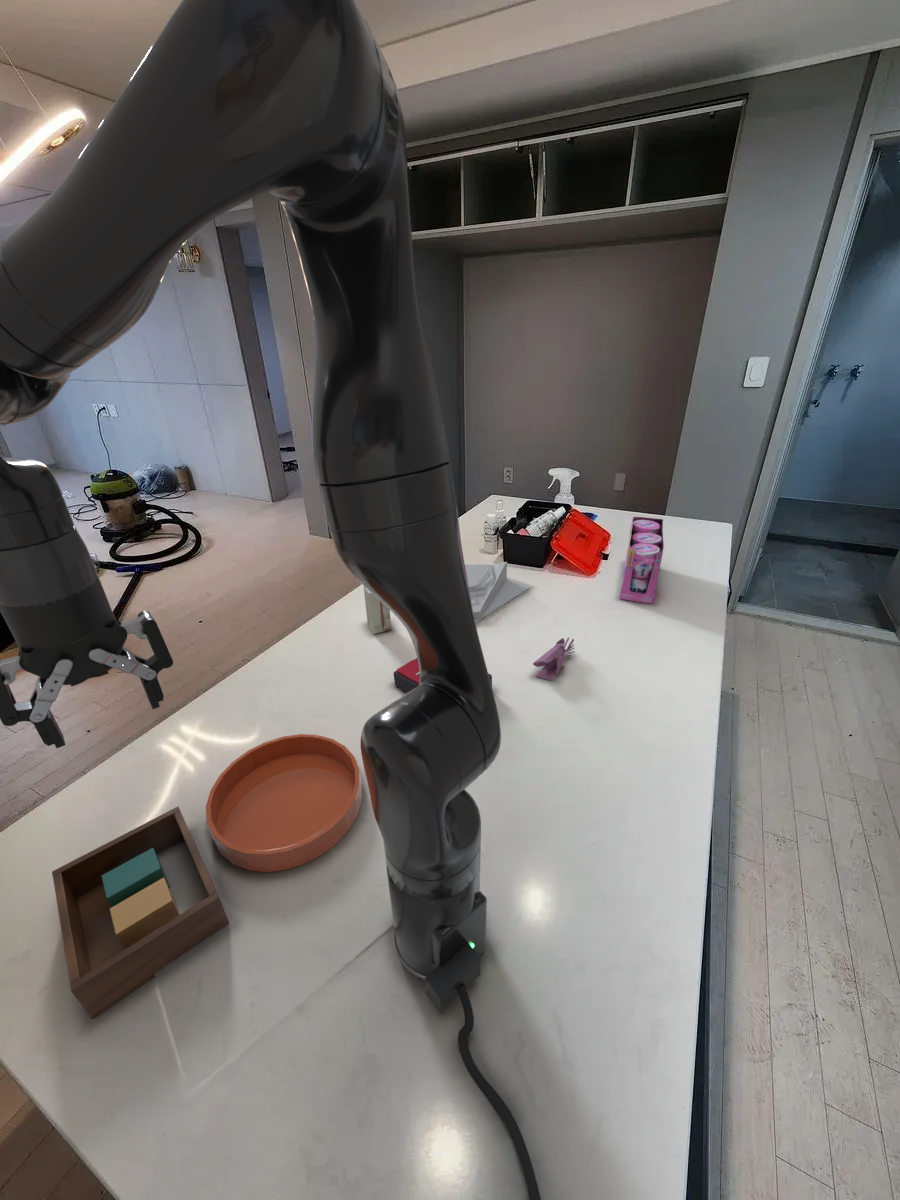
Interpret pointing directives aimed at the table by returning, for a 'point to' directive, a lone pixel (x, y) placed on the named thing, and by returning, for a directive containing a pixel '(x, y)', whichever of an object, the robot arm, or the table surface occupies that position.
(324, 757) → the bowl
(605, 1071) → the table surface
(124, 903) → the tan rectangular block
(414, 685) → the red and grey box
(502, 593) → the ramp
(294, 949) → the table surface
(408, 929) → the robot arm
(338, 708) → the table surface
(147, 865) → the teal rectangular block
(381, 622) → the pale green tall box
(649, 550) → the gum box
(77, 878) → the holder
